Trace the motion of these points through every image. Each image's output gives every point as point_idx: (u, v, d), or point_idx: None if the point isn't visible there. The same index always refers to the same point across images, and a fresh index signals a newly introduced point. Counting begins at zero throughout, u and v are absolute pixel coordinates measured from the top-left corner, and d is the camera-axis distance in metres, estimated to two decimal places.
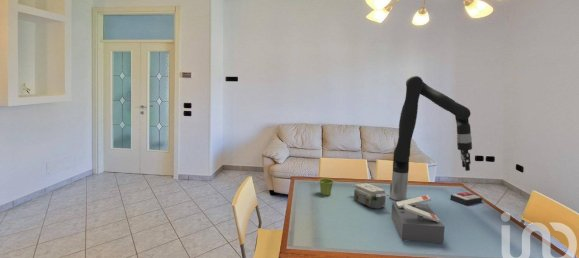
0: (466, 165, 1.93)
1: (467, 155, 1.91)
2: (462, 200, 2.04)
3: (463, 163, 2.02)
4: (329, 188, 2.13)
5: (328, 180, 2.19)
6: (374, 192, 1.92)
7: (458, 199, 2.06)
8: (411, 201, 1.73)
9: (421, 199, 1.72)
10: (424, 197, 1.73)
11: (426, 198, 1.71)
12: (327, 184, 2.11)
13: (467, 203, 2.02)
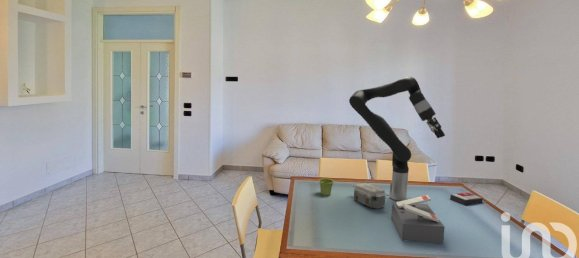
0: (438, 131, 1.71)
1: (433, 120, 1.71)
2: (461, 200, 2.04)
3: (436, 134, 1.80)
4: (329, 188, 2.13)
5: (328, 180, 2.19)
6: (374, 192, 1.92)
7: (457, 199, 2.06)
8: (411, 201, 1.73)
9: (421, 199, 1.72)
10: (424, 197, 1.73)
11: (426, 198, 1.71)
12: (327, 184, 2.11)
13: (466, 203, 2.02)
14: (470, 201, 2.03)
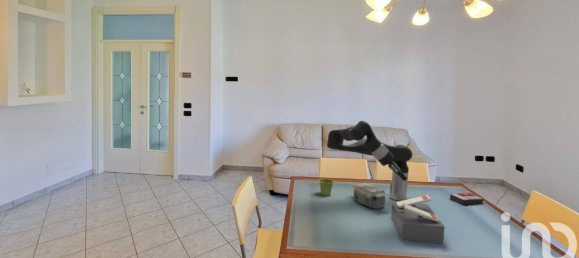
0: (400, 176, 1.72)
1: (396, 171, 1.67)
2: (459, 200, 2.04)
3: None
4: (329, 188, 2.13)
5: (328, 180, 2.19)
6: (374, 192, 1.92)
7: (456, 199, 2.07)
8: (411, 201, 1.73)
9: (421, 199, 1.72)
10: (424, 197, 1.73)
11: (426, 198, 1.71)
12: (327, 184, 2.11)
13: (464, 203, 2.02)
14: (469, 201, 2.03)
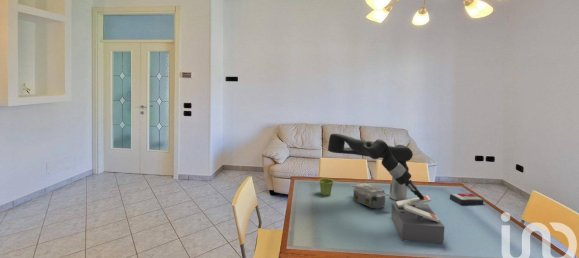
0: (417, 195, 1.72)
1: (414, 190, 1.67)
2: (458, 200, 2.05)
3: None
4: (329, 188, 2.13)
5: (328, 180, 2.19)
6: (374, 192, 1.92)
7: (455, 198, 2.07)
8: (411, 201, 1.73)
9: None
10: (424, 197, 1.73)
11: (426, 198, 1.71)
12: (327, 184, 2.11)
13: (462, 203, 2.02)
14: (467, 201, 2.03)
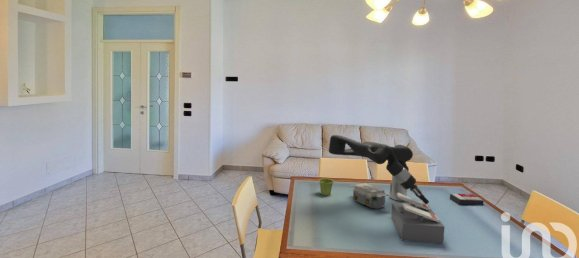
0: (422, 199, 1.72)
1: (419, 195, 1.67)
2: (457, 199, 2.05)
3: None
4: (329, 188, 2.13)
5: (328, 180, 2.19)
6: (374, 192, 1.92)
7: (454, 198, 2.08)
8: (412, 200, 1.73)
9: (421, 204, 1.72)
10: (424, 204, 1.74)
11: (426, 206, 1.72)
12: (327, 184, 2.11)
13: (461, 203, 2.02)
14: (466, 201, 2.03)
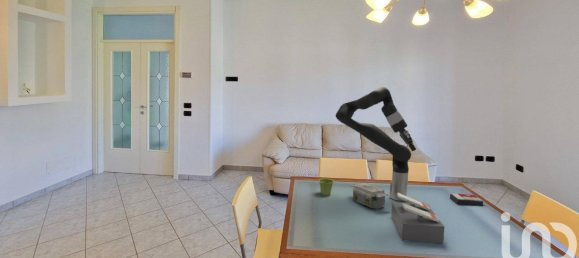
0: (410, 145, 1.76)
1: (408, 137, 1.72)
2: (455, 199, 2.05)
3: None
4: (329, 188, 2.13)
5: (328, 180, 2.19)
6: (374, 192, 1.92)
7: (453, 198, 2.08)
8: (412, 200, 1.73)
9: (421, 204, 1.72)
10: (424, 204, 1.74)
11: (426, 206, 1.72)
12: (327, 184, 2.11)
13: (459, 202, 2.03)
14: (464, 201, 2.03)
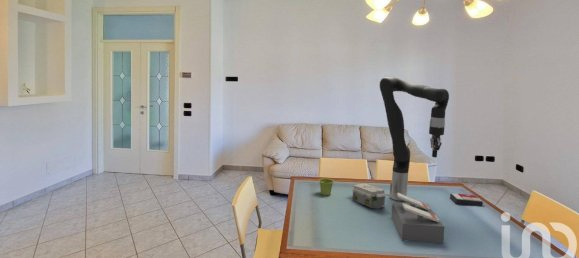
0: (434, 151, 1.86)
1: (438, 144, 1.81)
2: (454, 199, 2.06)
3: None
4: (329, 188, 2.13)
5: (328, 180, 2.19)
6: (374, 192, 1.92)
7: (453, 198, 2.08)
8: (412, 200, 1.73)
9: (421, 204, 1.72)
10: (424, 204, 1.74)
11: (426, 206, 1.72)
12: (327, 184, 2.11)
13: (458, 202, 2.03)
14: (463, 201, 2.03)
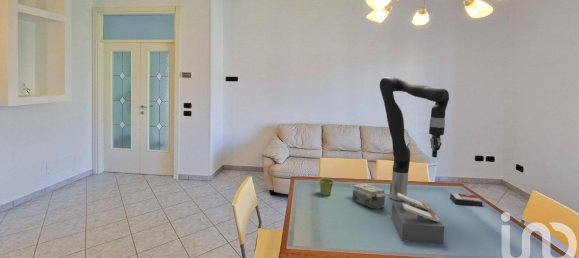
0: (434, 151, 1.86)
1: (438, 144, 1.81)
2: (454, 199, 2.06)
3: None
4: (329, 188, 2.13)
5: (328, 180, 2.19)
6: (374, 192, 1.92)
7: (452, 198, 2.09)
8: (412, 200, 1.73)
9: (421, 204, 1.72)
10: (424, 204, 1.74)
11: (426, 206, 1.72)
12: (327, 184, 2.11)
13: (457, 202, 2.03)
14: (463, 201, 2.03)
